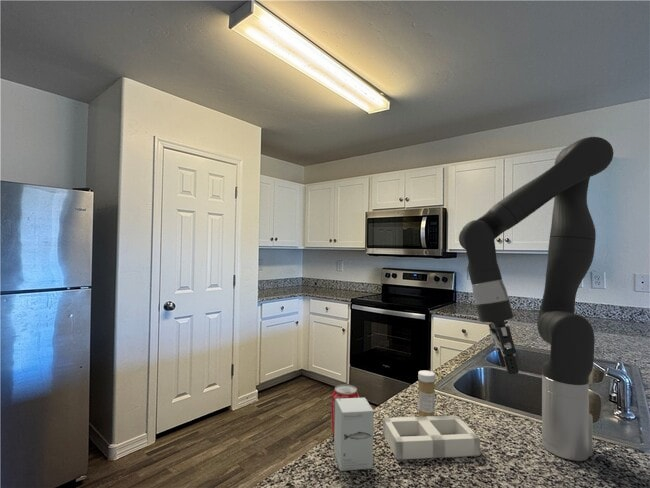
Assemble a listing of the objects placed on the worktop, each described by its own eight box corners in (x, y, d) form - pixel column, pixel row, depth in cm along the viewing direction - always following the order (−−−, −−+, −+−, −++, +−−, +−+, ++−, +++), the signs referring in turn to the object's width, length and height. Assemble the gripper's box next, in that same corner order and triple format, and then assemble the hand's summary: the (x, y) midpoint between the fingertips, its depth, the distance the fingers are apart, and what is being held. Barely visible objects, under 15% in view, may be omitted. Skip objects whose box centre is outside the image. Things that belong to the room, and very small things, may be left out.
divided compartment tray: (456, 430, 90) (456, 415, 90) (479, 455, 79) (480, 438, 79) (382, 433, 87) (383, 418, 88) (396, 459, 77) (396, 441, 77)
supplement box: (339, 472, 72) (340, 412, 72) (333, 452, 79) (334, 397, 79) (373, 469, 73) (374, 410, 73) (364, 449, 80) (365, 396, 80)
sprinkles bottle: (422, 415, 98) (423, 368, 98) (437, 421, 95) (438, 372, 95) (414, 421, 94) (415, 372, 95) (430, 427, 91) (430, 376, 92)
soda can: (352, 427, 90) (353, 382, 91) (363, 441, 84) (364, 392, 84) (327, 431, 88) (328, 384, 88) (336, 446, 81) (337, 395, 82)
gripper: (514, 298, 75) (535, 374, 72) (502, 298, 89) (520, 362, 85) (478, 303, 77) (497, 378, 74) (472, 302, 91) (488, 365, 87)
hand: (509, 369), depth 80 cm, fingers open, 8 cm apart
